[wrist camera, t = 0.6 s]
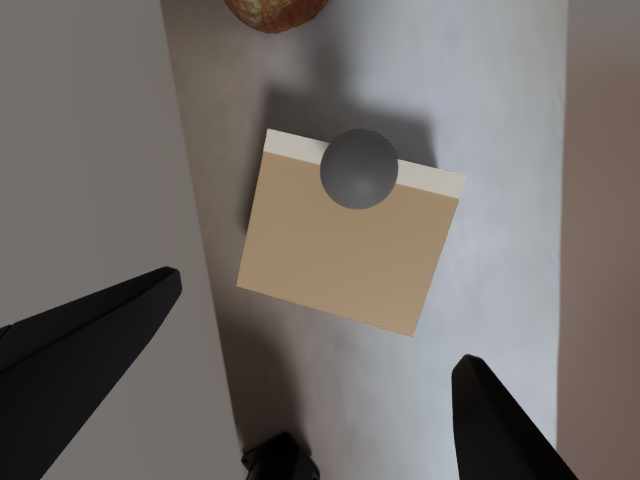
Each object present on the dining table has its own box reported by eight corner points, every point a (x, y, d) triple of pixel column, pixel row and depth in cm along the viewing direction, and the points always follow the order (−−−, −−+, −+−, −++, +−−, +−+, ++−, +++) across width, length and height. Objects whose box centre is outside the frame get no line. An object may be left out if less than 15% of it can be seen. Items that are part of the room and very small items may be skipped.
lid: (410, 333, 21) (437, 396, 14) (239, 283, 22) (189, 319, 16) (465, 170, 19) (527, 154, 12) (271, 125, 20) (230, 87, 13)
